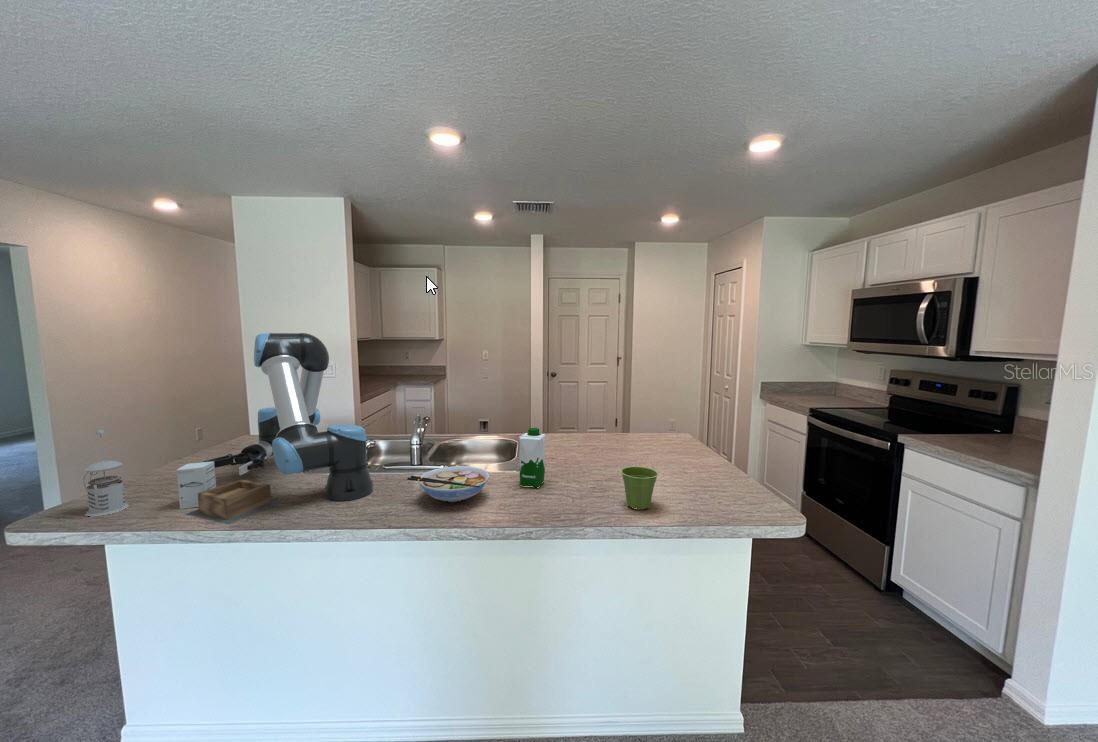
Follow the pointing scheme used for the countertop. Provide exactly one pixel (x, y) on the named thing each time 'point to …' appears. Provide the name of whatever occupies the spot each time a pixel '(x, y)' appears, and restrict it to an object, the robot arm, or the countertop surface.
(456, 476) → the ramen bowl
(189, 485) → the supplement box
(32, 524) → the countertop surface
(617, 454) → the countertop surface
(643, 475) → the plant pot
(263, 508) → the mat
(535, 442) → the milk carton
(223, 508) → the tray
